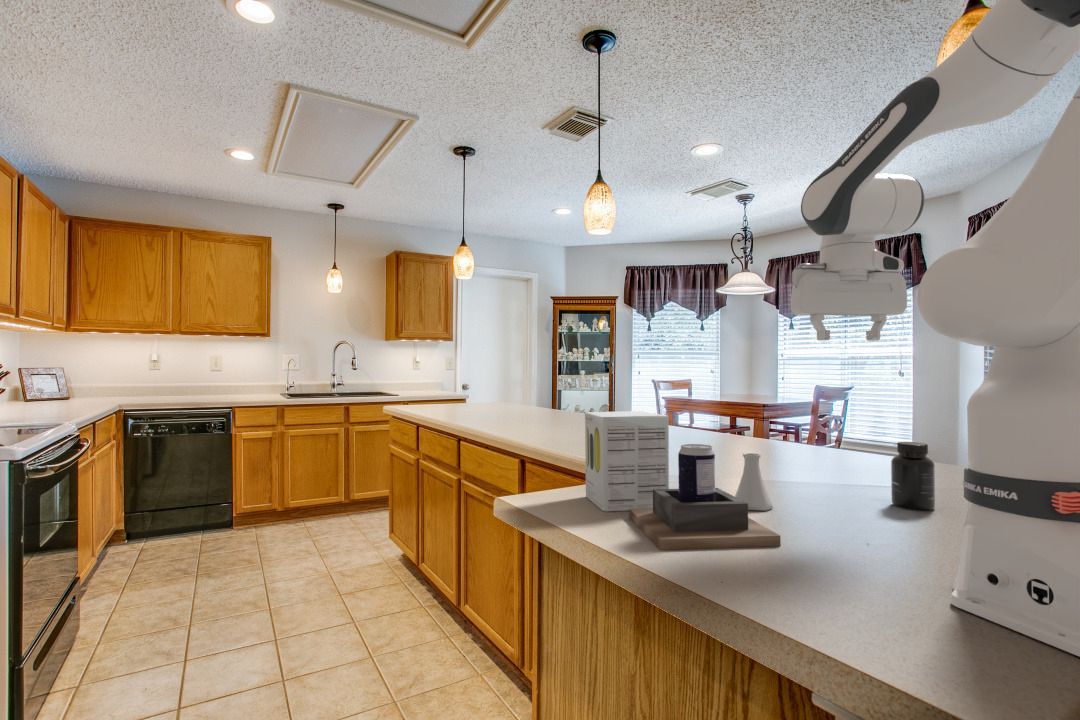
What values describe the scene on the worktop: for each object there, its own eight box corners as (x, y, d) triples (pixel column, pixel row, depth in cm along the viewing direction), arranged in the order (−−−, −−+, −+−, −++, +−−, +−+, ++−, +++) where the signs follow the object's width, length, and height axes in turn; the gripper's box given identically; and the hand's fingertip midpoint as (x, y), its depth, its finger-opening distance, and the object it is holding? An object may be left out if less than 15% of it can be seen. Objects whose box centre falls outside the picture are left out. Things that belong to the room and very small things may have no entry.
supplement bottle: (883, 504, 105) (882, 442, 105) (905, 501, 108) (904, 440, 108) (921, 513, 99) (919, 446, 99) (943, 509, 102) (942, 444, 102)
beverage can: (711, 516, 91) (710, 443, 92) (718, 525, 86) (718, 448, 86) (676, 515, 92) (675, 443, 92) (681, 524, 86) (681, 448, 87)
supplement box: (584, 496, 113) (583, 411, 114) (644, 493, 116) (644, 410, 116) (602, 512, 100) (602, 416, 101) (670, 509, 103) (670, 415, 103)
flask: (729, 509, 102) (728, 455, 103) (735, 501, 109) (734, 450, 109) (771, 513, 99) (770, 458, 99) (775, 505, 105) (774, 452, 106)
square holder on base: (780, 545, 80) (780, 508, 81) (660, 549, 79) (660, 511, 79) (727, 514, 98) (727, 483, 98) (629, 517, 97) (628, 485, 97)
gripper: (802, 259, 95) (803, 339, 95) (912, 261, 97) (914, 339, 97) (783, 266, 102) (783, 341, 101) (887, 268, 103) (888, 341, 103)
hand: (848, 340), depth 99 cm, fingers open, 8 cm apart
